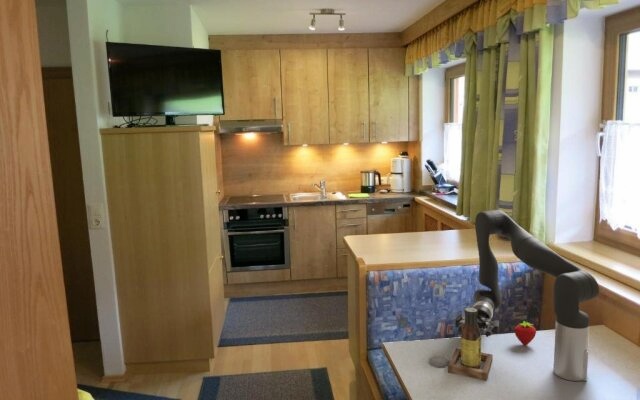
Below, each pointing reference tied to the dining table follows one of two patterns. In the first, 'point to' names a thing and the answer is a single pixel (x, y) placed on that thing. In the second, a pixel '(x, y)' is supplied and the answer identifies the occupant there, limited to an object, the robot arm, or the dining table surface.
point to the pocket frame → (469, 371)
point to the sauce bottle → (471, 340)
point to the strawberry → (525, 332)
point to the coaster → (439, 361)
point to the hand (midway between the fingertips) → (473, 332)
